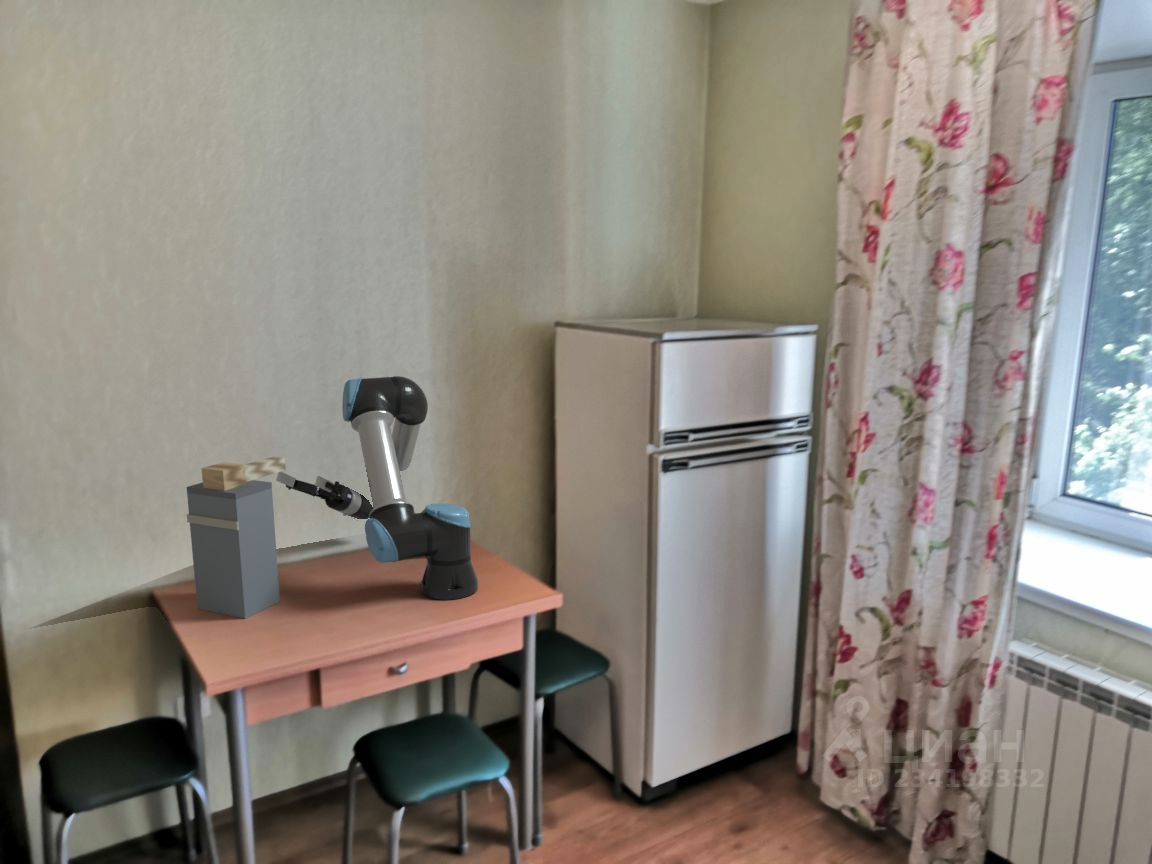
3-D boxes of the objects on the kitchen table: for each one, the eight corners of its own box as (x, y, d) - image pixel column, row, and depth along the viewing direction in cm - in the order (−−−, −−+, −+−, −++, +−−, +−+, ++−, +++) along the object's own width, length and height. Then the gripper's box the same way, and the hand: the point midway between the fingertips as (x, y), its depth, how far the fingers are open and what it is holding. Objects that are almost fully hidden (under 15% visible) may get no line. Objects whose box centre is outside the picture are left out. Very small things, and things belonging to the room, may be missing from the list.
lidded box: (280, 601, 222) (272, 482, 216) (244, 619, 211) (234, 494, 205) (232, 592, 228) (223, 476, 222) (195, 609, 217) (184, 487, 211)
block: (270, 468, 231) (269, 450, 230) (290, 470, 229) (289, 452, 228) (203, 487, 211) (201, 468, 210) (224, 490, 208) (222, 470, 207)
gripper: (373, 516, 249) (329, 496, 230) (305, 506, 259) (258, 486, 240) (380, 491, 251) (337, 469, 232) (313, 483, 261) (266, 461, 242)
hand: (297, 478), depth 236 cm, fingers open, 13 cm apart
